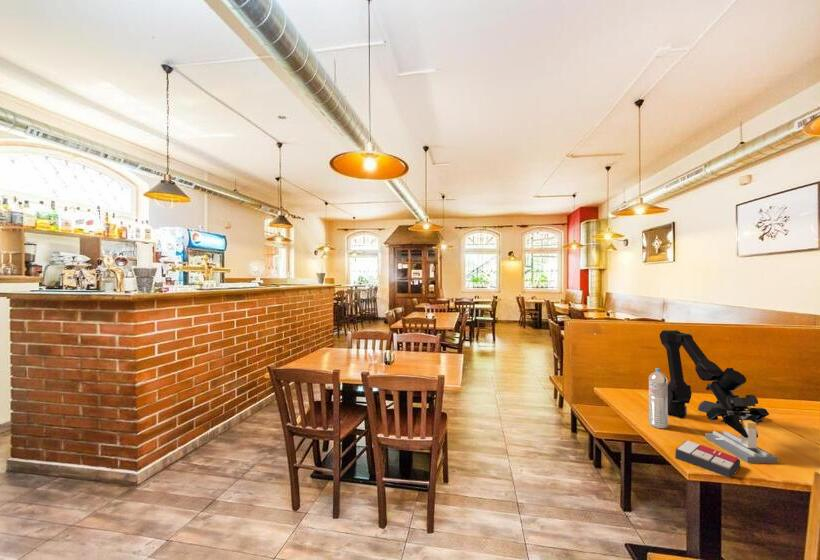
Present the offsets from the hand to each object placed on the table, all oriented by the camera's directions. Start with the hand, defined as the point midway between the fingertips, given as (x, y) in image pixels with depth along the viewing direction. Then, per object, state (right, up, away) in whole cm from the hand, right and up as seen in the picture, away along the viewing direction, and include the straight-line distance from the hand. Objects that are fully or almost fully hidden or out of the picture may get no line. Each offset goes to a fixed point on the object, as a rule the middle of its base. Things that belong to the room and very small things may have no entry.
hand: (752, 437), depth 122 cm
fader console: (0, -7, +5) cm, 9 cm away
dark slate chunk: (+28, -7, +38) cm, 48 cm away
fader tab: (0, -5, +1) cm, 5 cm away
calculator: (-19, -8, -3) cm, 21 cm away
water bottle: (-15, -7, +26) cm, 31 cm away
